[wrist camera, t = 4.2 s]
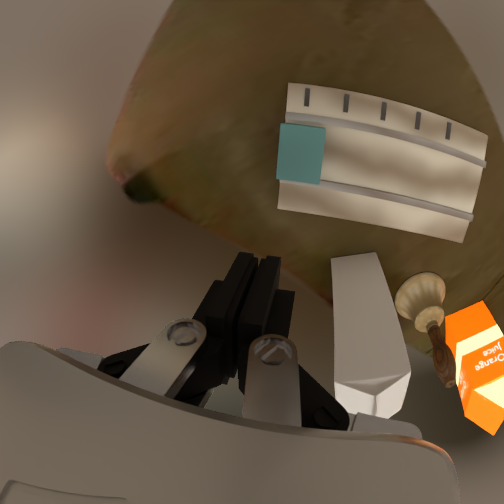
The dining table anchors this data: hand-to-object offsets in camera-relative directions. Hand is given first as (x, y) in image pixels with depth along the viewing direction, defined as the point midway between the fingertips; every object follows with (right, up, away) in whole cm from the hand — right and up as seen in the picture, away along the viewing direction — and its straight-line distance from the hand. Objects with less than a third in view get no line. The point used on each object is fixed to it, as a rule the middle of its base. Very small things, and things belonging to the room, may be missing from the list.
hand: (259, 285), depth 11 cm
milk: (+13, -1, +23) cm, 27 cm away
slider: (+5, +12, +15) cm, 20 cm away
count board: (+15, +11, +16) cm, 24 cm away
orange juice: (+35, -11, +23) cm, 43 cm away
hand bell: (+24, -5, +22) cm, 33 cm away
